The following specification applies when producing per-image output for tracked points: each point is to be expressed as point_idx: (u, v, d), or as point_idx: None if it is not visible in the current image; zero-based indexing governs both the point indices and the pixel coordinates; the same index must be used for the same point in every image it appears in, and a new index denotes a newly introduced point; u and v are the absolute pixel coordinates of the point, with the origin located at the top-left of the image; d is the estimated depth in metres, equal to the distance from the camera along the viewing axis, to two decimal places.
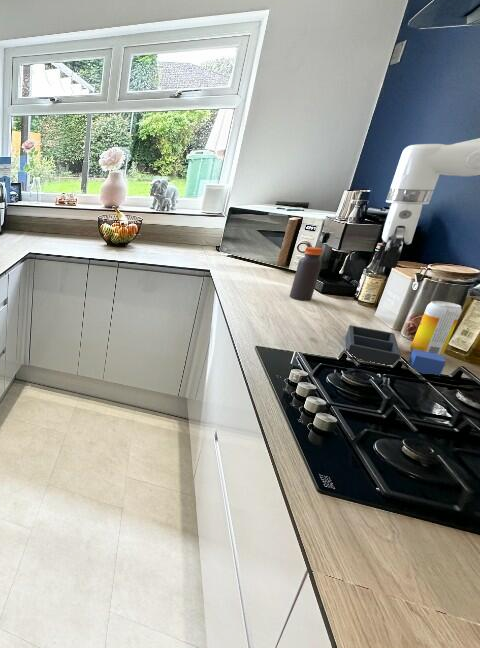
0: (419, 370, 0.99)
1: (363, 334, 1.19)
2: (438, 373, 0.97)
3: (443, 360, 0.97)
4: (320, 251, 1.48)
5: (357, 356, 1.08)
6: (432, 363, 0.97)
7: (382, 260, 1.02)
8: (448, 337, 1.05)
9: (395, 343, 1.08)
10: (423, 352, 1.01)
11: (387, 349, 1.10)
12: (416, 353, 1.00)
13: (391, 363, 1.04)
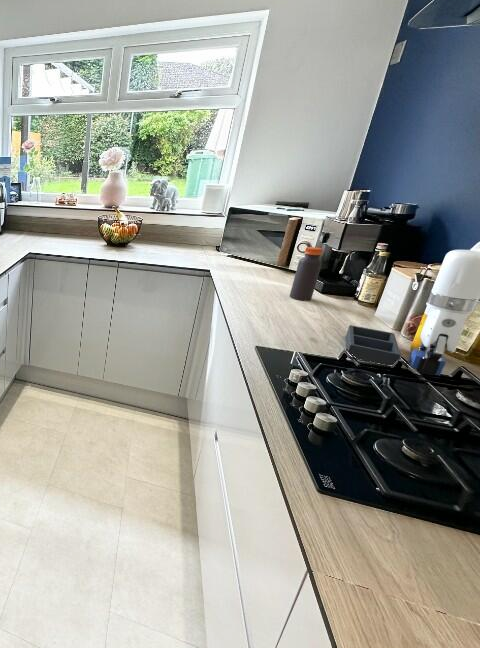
0: None
1: (363, 334, 1.19)
2: (438, 373, 0.97)
3: (443, 360, 0.97)
4: (320, 251, 1.48)
5: (357, 356, 1.08)
6: None
7: (420, 367, 0.99)
8: None
9: (395, 343, 1.08)
10: (423, 352, 1.01)
11: (387, 349, 1.10)
12: (416, 353, 1.00)
13: (391, 363, 1.04)
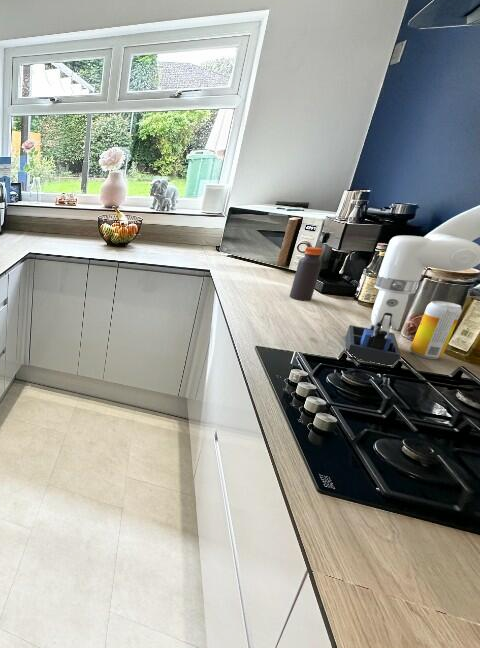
0: None
1: None
2: (385, 350, 1.05)
3: (389, 338, 1.05)
4: (320, 251, 1.48)
5: (357, 356, 1.08)
6: None
7: (369, 345, 1.07)
8: (448, 337, 1.05)
9: (395, 343, 1.08)
10: None
11: None
12: (366, 332, 1.08)
13: (391, 363, 1.04)
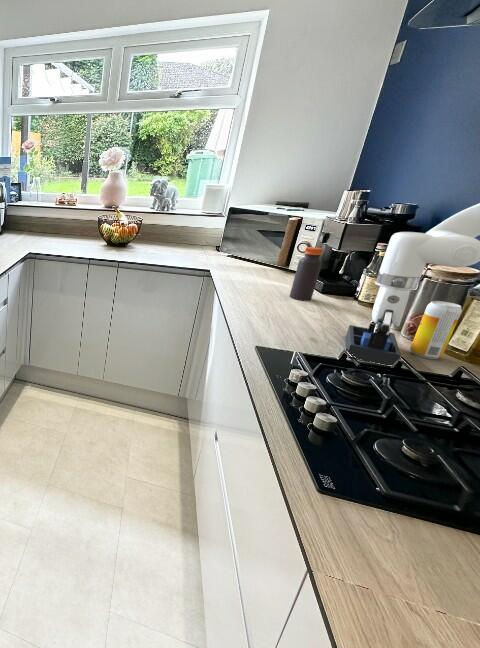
0: None
1: None
2: None
3: (388, 341, 1.05)
4: (320, 251, 1.48)
5: (357, 356, 1.08)
6: None
7: (371, 341, 1.06)
8: (448, 337, 1.05)
9: (395, 343, 1.08)
10: None
11: None
12: (365, 335, 1.09)
13: (391, 363, 1.04)
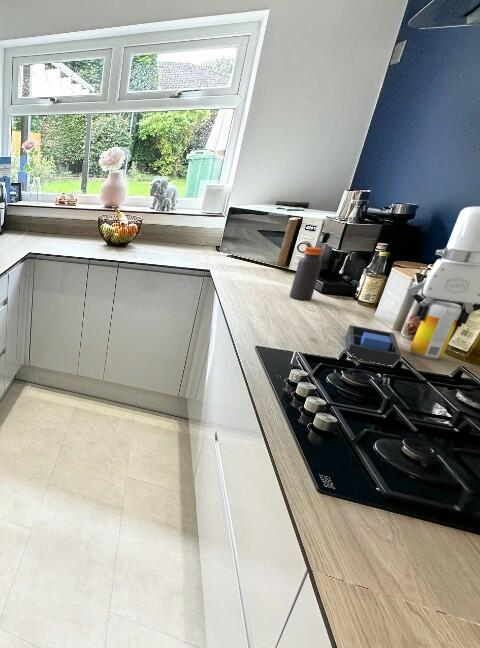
0: None
1: None
2: None
3: (388, 341, 1.05)
4: (320, 251, 1.48)
5: (357, 356, 1.08)
6: (379, 344, 1.06)
7: None
8: (448, 337, 1.05)
9: (395, 343, 1.08)
10: (372, 334, 1.09)
11: None
12: (365, 335, 1.09)
13: (391, 363, 1.04)
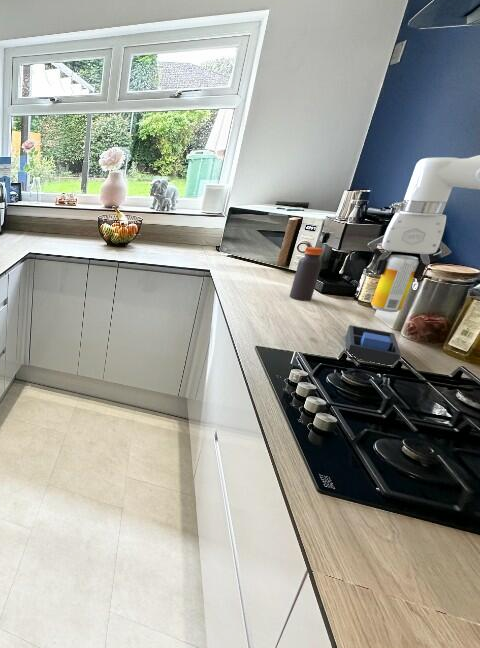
0: None
1: None
2: None
3: (388, 341, 1.05)
4: (320, 251, 1.48)
5: (357, 356, 1.08)
6: (379, 344, 1.06)
7: None
8: (406, 289, 1.07)
9: (395, 343, 1.08)
10: (372, 334, 1.09)
11: None
12: (365, 335, 1.09)
13: (391, 363, 1.04)
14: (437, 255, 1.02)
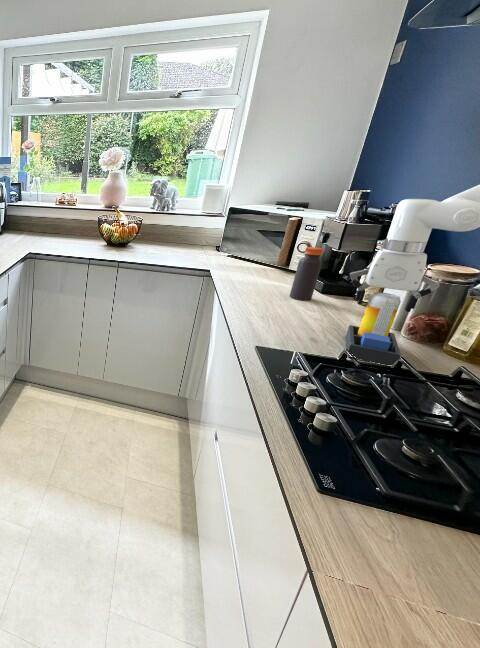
0: None
1: None
2: None
3: (388, 341, 1.05)
4: (320, 251, 1.48)
5: (357, 356, 1.08)
6: (379, 344, 1.06)
7: None
8: (389, 326, 1.11)
9: (395, 343, 1.08)
10: (372, 334, 1.09)
11: None
12: (365, 335, 1.09)
13: (391, 363, 1.04)
14: (428, 290, 1.05)
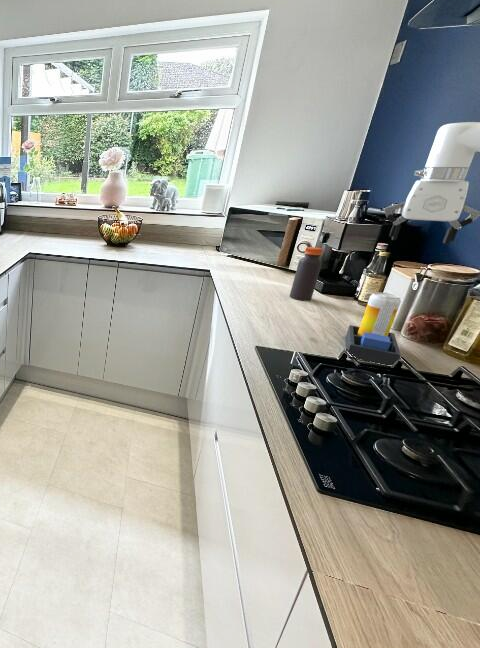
0: None
1: None
2: None
3: (388, 341, 1.05)
4: (320, 251, 1.48)
5: (357, 356, 1.08)
6: (379, 344, 1.06)
7: None
8: (389, 326, 1.11)
9: (395, 343, 1.08)
10: (372, 334, 1.09)
11: None
12: (365, 335, 1.09)
13: (391, 363, 1.04)
14: (469, 219, 1.00)
